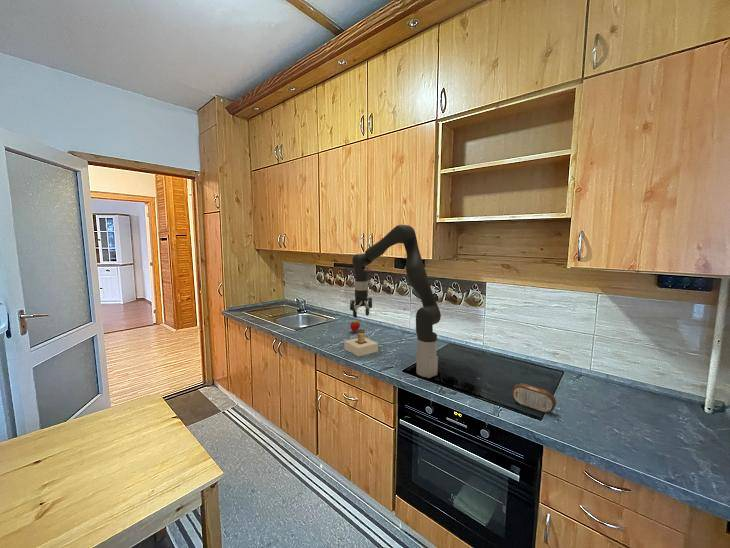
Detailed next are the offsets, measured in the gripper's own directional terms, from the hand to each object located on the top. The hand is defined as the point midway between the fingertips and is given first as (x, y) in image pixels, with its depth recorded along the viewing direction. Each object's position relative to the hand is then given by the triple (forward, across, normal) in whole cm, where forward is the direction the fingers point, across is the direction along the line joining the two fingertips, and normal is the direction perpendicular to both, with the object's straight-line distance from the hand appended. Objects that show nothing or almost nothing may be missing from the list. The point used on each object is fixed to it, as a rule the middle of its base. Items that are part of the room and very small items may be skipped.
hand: (361, 316), depth 174 cm
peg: (+20, 0, 0) cm, 20 cm away
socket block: (+20, 0, 0) cm, 20 cm away
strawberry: (+20, +16, +29) cm, 39 cm away
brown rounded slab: (+21, +19, -88) cm, 92 cm away
